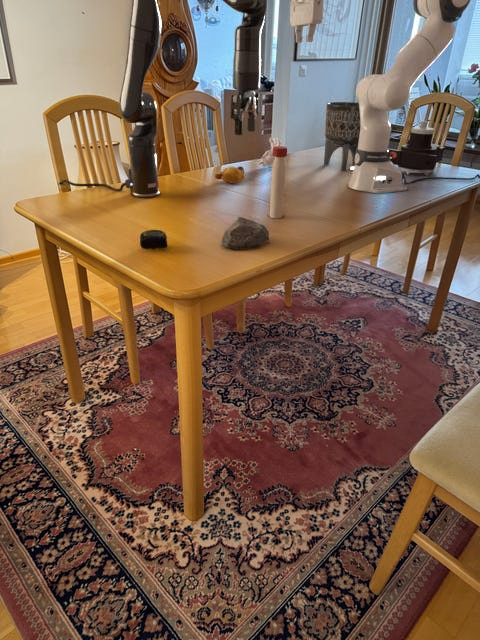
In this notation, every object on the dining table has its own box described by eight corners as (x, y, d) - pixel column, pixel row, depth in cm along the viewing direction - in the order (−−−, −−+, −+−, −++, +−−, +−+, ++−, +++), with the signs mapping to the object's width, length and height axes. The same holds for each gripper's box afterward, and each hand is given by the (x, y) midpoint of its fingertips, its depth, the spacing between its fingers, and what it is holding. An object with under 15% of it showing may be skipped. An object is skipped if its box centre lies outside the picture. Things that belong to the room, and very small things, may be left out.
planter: (313, 167, 208) (319, 103, 195) (331, 160, 222) (338, 101, 209) (353, 173, 199) (362, 107, 185) (369, 166, 213) (379, 104, 199)
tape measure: (140, 252, 115) (139, 238, 113) (141, 242, 120) (140, 229, 119) (167, 251, 116) (166, 237, 114) (167, 241, 121) (166, 228, 120)
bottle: (285, 217, 143) (290, 149, 133) (275, 219, 141) (279, 150, 131) (276, 213, 146) (281, 147, 136) (266, 215, 144) (270, 148, 134)
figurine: (286, 165, 210) (288, 136, 203) (269, 171, 199) (270, 140, 193) (271, 163, 214) (272, 134, 207) (253, 168, 203) (254, 138, 196)
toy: (212, 175, 175) (219, 166, 187) (218, 191, 178) (224, 181, 190) (239, 166, 171) (244, 157, 184) (245, 182, 174) (249, 173, 187)
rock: (255, 233, 128) (256, 211, 124) (276, 242, 122) (278, 219, 119) (217, 244, 120) (217, 220, 117) (239, 254, 115) (239, 230, 111)
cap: (289, 156, 134) (290, 147, 133) (278, 157, 132) (279, 149, 131) (280, 154, 137) (281, 145, 136) (269, 155, 135) (270, 146, 133)
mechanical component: (390, 120, 192) (418, 115, 212) (381, 171, 203) (408, 162, 223) (441, 125, 180) (466, 119, 200) (429, 179, 191) (453, 169, 211)
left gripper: (245, 69, 132) (244, 129, 140) (222, 70, 121) (222, 135, 129) (269, 70, 129) (266, 131, 137) (247, 71, 118) (245, 137, 126)
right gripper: (331, -14, 132) (325, 41, 139) (306, -6, 149) (302, 43, 156) (310, -15, 131) (306, 41, 138) (287, -7, 148) (284, 42, 155)
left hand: (244, 133), depth 133 cm, fingers open, 8 cm apart
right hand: (304, 42), depth 147 cm, fingers open, 8 cm apart
